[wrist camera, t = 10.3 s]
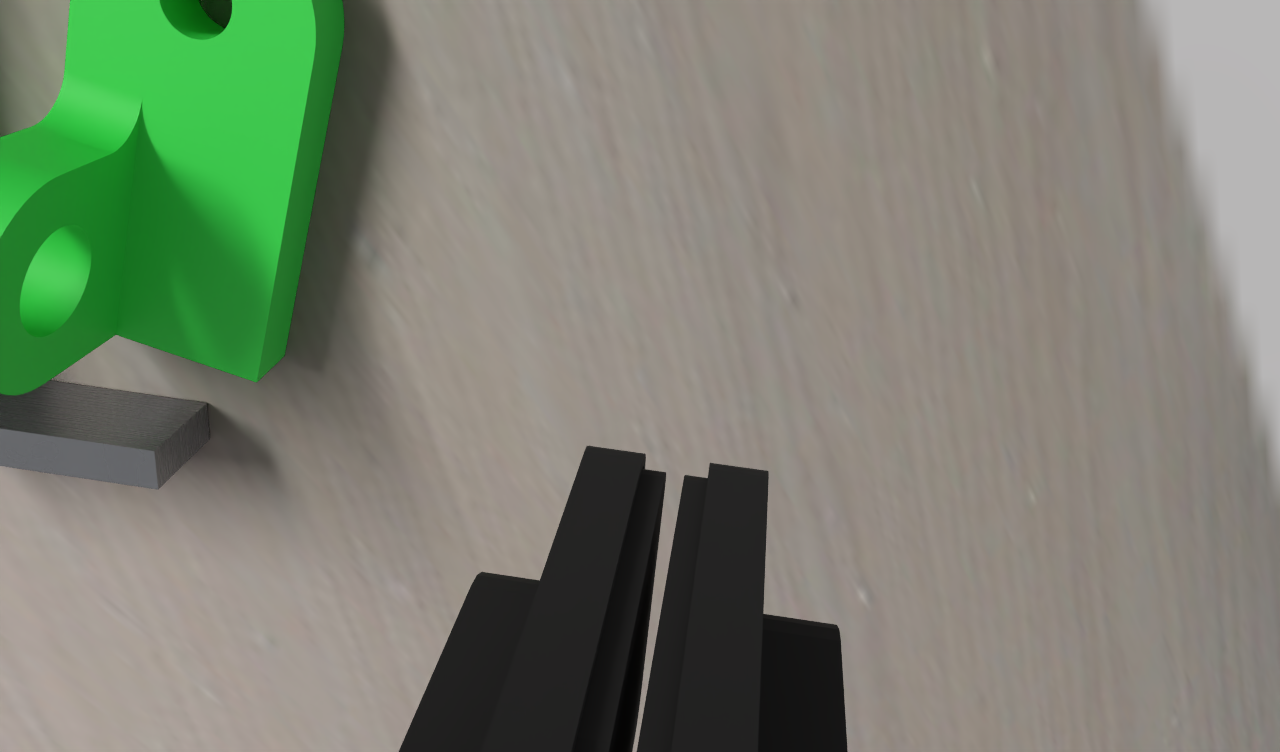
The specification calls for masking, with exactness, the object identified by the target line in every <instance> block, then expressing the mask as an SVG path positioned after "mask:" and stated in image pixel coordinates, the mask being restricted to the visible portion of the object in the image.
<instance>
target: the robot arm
mask: <svg viewBox="0 0 1280 752" xmlns="http://www.w3.org/2000/svg"><path fill="white" fill-rule="evenodd" d="M645 460H646V456H645V454H643V453H636V452H628V451H621V450H614V449H607V448H600V447H593V446H587V447H586V449H585V452H584V455H583V457H582V460H581V463H580V466H579V469H578V472H577V475H576V478H575V481H574V484H573V486H572V489H571V492H570V495H569V498H568V501H567V504H566V507H565V510H564V512H563V515H562V518H561V521H560V524H559V527H558V530H557V533H556V536H555V539H554V541H553V544H552V547H551V550H550V553H549V556H548V559H547V562H546V565H545V567H544V570H543V573H542V576H541V579H540V581H539V580H532V579H525V578H519V577H512V576H505V575H499V574H492V573H485V572H481V573H480V574H478V575H477V576H476V578H475V580H474V582H473V583H472V585H471V587H470V590H469V592H468V594H467V597H466V599H465V601H464V603H463V606H462V608H461V610H460V613H459V615H458V617H457V619H456V622H455V624H454V626H453V629H452V631H451V633H450V636H449V638H448V640H447V642H446V645H445V647H444V649H443V652H442V654H441V656H440V658H439V661H438V663H437V665H436V668H435V670H434V672H433V674H432V677H431V679H430V681H429V684H428V686H427V688H426V691H425V693H424V695H423V697H422V700H421V702H420V704H419V707H418V709H417V711H416V713H415V716H414V718H413V720H412V723H411V725H410V727H409V729H408V732H407V734H406V736H405V739H404V741H403V743H402V746H401V748H400V750H399V752H632V750H633V744H634V738H635V732H636V726H637V719H638V712H639V705H640V697H641V688H642V680H643V671H644V663H645V654H646V645H647V637H648V628H649V620H650V611H651V602H652V594H653V585H654V577H655V568H656V559H657V551H658V542H659V534H660V525H661V517H662V508H663V499H664V491H665V482H666V472H659V471H652V470H645ZM767 502H768V471H764V470H757V469H750V468H743V467H735V466H728V465H721V464H714V463H710V467H709V474H708V478H702V477H695V476H688V475H685V476H684V481H683V487H682V493H681V499H680V505H679V510H678V516H677V522H676V528H675V534H674V539H673V545H672V551H671V557H670V563H669V568H668V574H667V580H666V586H665V591H664V597H663V603H662V609H661V615H660V620H659V626H658V632H657V638H656V644H655V649H654V655H653V661H652V667H651V673H650V678H649V684H648V690H647V696H646V702H645V707H644V713H643V719H642V725H641V730H640V736H639V742H638V748H637V752H847V737H846V720H845V704H844V687H843V671H842V654H841V639H840V632H839V628H838V626H837V625H834V624H827V623H820V622H814V621H807V620H800V619H794V618H787V617H780V616H773V615H767V614H763V605H764V579H765V553H766V528H767Z"/></svg>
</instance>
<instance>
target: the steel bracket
mask: <svg viewBox="0 0 1280 752" xmlns="http://www.w3.org/2000/svg"><path fill="white" fill-rule="evenodd" d="M209 439H210V436H209V423H208V411H207V403H203V402H196V401H189V400H183V399H176V398H169V397H162V396H155V395H148V394H141V393H134V392H127V391H120V390H113V389H106V388H99V387H92V386H85V385H78V384H71V383H64V382H57V381H50V380H49V381H48V382H46V383H45V384H43V385H41V386H40V387H38V388H36V389H34V390H32V391H30V392H27V393H24V394H20V395H5V394H1V393H0V466H5V467H12V468H18V469H25V470H32V471H38V472H45V473H52V474H58V475H65V476H72V477H78V478H85V479H92V480H98V481H105V482H112V483H118V484H125V485H132V486H138V487H145V488H152V489H159V488H160V487H161V486H162V485H163V484H164V483H165V482H166V481H167V480H168V479H169V478H170V477H171V476H172V475H174V474H175V473H176V472H177V471H178V470H179V469H180V468H181V467H182V466H183V465H184V464H185V463H186V462H187V461H188V460H189V459H190V458H191V457H192V456H193V455H194V454H195V453H196V452H197V451H198V450H199V449H200V448H201V447H202V446H203V445H204V444H205V443H206V442H207V441H208V440H209Z"/></svg>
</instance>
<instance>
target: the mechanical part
mask: <svg viewBox="0 0 1280 752" xmlns="http://www.w3.org/2000/svg"><path fill="white" fill-rule="evenodd" d="M343 39H344V8H343V2H342V0H232V15H231V19H230V21H229V24H228V25H227V27H226V28H225V27H222V26H220V25H218V24H217V23H215V22H214V21H213V20H212V19H211V18H210V17H209V16H208V15H207V14H206V13H205V11H204V10H203V8H202V7H201V5H200V2H199V0H70V9H69V22H68V34H67V47H66V59H65V71H64V79H63V83H62V87H61V90H60V93H59V96H58V98H57V100H56V102H55V104H54V106H53V108H52V109H51V111H50V112H49V113H48V115H47V116H46V117H45V118H44V119H43V120H42V121H41V122H39V123H38V124H36V125H34V126H32V127H29V128H26V129H23V130H20V131H17V132H14V133H11V134H9V135H6V136H3V137H0V393H1V394H5V395H20V394H24V393H27V392H30V391H32V390H34V389H36V388H38V387H40V386H41V385H43V384H45V383H46V382H48V381H49V380H50V379H52V378H53V377H55V376H56V375H58V374H59V373H61V372H62V371H64V370H65V369H67V368H68V367H69V366H71V365H72V364H74V363H75V362H77V361H78V360H80V359H81V358H83V357H84V356H85V355H87V354H88V353H90V352H91V351H93V350H94V349H96V348H97V347H99V346H100V345H102V344H103V343H104V342H106V341H107V340H109V339H110V338H112V337H113V336H115V335H119V336H121V337H124V338H127V339H130V340H133V341H136V342H139V343H142V344H145V345H148V346H151V347H154V348H157V349H160V350H163V351H165V352H168V353H171V354H174V355H177V356H180V357H183V358H186V359H189V360H192V361H195V362H198V363H201V364H204V365H207V366H210V367H212V368H215V369H218V370H221V371H224V372H227V373H230V374H233V375H236V376H239V377H242V378H245V379H248V380H251V381H254V382H258V381H259V380H260V379H261V378H262V377H263V376H264V375H265V374H266V373H267V372H268V371H269V370H270V369H271V368H272V367H273V366H275V365H276V364H277V363H278V362H279V361H280V360H281V359H282V358H283V357H284V356H285V351H286V346H287V340H288V335H289V330H290V324H291V319H292V314H293V308H294V303H295V298H296V292H297V287H298V282H299V276H300V271H301V266H302V260H303V255H304V250H305V244H306V239H307V233H308V228H309V223H310V217H311V212H312V207H313V201H314V196H315V191H316V185H317V180H318V175H319V169H320V164H321V159H322V153H323V148H324V143H325V137H326V132H327V127H328V121H329V116H330V111H331V105H332V100H333V95H334V89H335V84H336V79H337V73H338V68H339V63H340V57H341V52H342V46H343Z"/></svg>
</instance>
